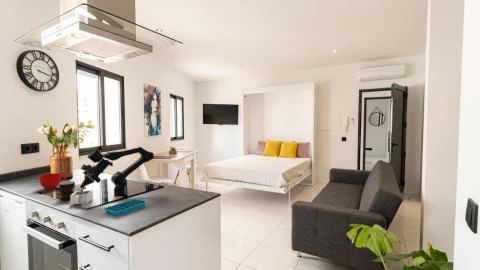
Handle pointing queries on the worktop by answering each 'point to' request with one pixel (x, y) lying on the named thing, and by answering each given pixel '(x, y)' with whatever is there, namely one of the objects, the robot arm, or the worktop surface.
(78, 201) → the press body
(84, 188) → the plunger
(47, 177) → the ceramic cup
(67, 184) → the coffee mug
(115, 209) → the ice cube tray
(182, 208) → the worktop surface
